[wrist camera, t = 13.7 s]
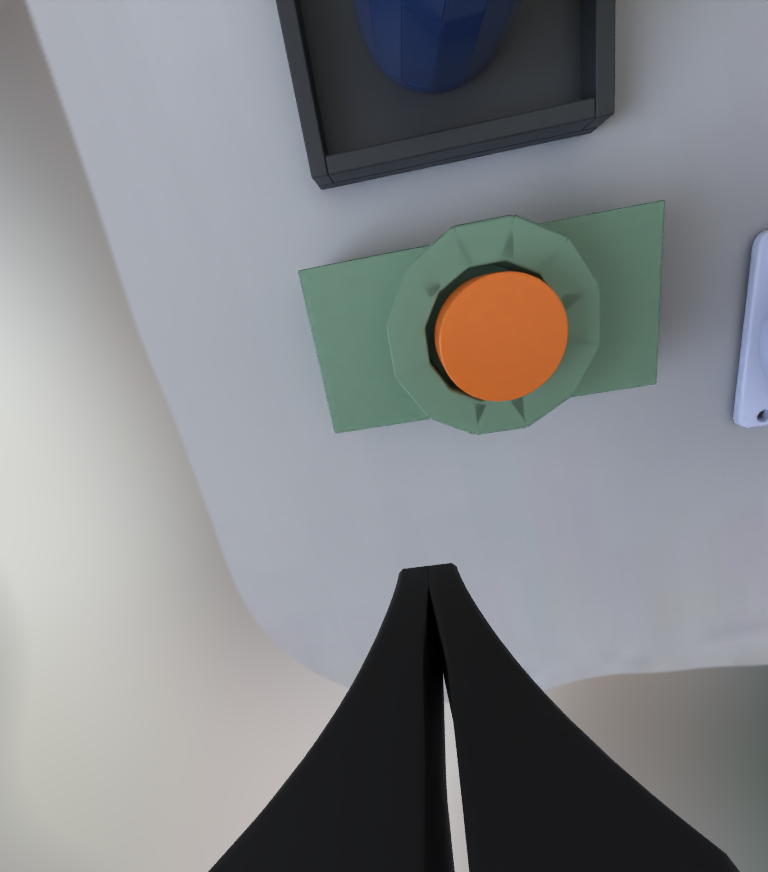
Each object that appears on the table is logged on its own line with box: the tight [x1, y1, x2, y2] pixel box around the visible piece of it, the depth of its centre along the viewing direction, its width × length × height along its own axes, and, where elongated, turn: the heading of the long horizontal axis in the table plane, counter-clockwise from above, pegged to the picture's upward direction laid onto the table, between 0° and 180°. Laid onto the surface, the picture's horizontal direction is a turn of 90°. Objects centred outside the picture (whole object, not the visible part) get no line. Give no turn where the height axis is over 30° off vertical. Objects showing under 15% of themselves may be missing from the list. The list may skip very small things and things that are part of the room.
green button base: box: [298, 200, 665, 435], centre depth 15 cm, size 12×6×5 cm, turn 100°
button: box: [434, 271, 568, 401], centre depth 12 cm, size 4×4×2 cm
